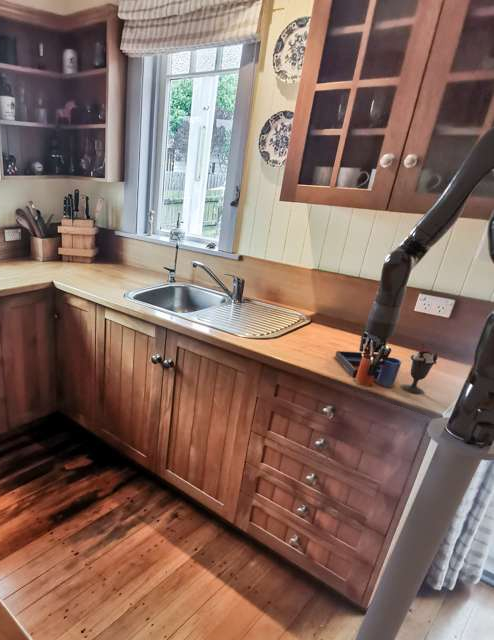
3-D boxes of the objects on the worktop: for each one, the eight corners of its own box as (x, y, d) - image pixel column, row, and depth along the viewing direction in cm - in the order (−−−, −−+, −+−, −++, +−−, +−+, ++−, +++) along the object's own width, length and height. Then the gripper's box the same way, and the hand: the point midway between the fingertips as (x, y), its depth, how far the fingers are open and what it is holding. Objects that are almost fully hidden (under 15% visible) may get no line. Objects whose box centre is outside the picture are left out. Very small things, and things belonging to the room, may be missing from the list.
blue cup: (396, 387, 141) (404, 364, 138) (380, 386, 142) (388, 363, 138) (388, 380, 146) (396, 357, 142) (373, 379, 146) (380, 356, 142)
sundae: (396, 388, 141) (412, 342, 135) (406, 382, 145) (422, 338, 138) (419, 397, 137) (437, 350, 130) (428, 391, 140) (446, 345, 134)
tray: (387, 379, 147) (389, 371, 146) (352, 377, 147) (354, 369, 146) (366, 359, 160) (368, 352, 159) (334, 357, 160) (336, 350, 159)
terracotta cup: (375, 385, 141) (382, 361, 138) (359, 384, 141) (366, 360, 138) (368, 378, 145) (375, 354, 142) (352, 377, 145) (359, 353, 142)
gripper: (409, 327, 128) (390, 382, 135) (384, 311, 141) (368, 362, 148) (381, 326, 128) (364, 381, 135) (359, 310, 141) (345, 361, 148)
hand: (366, 371), depth 142 cm, fingers closed on terracotta cup, 5 cm apart
